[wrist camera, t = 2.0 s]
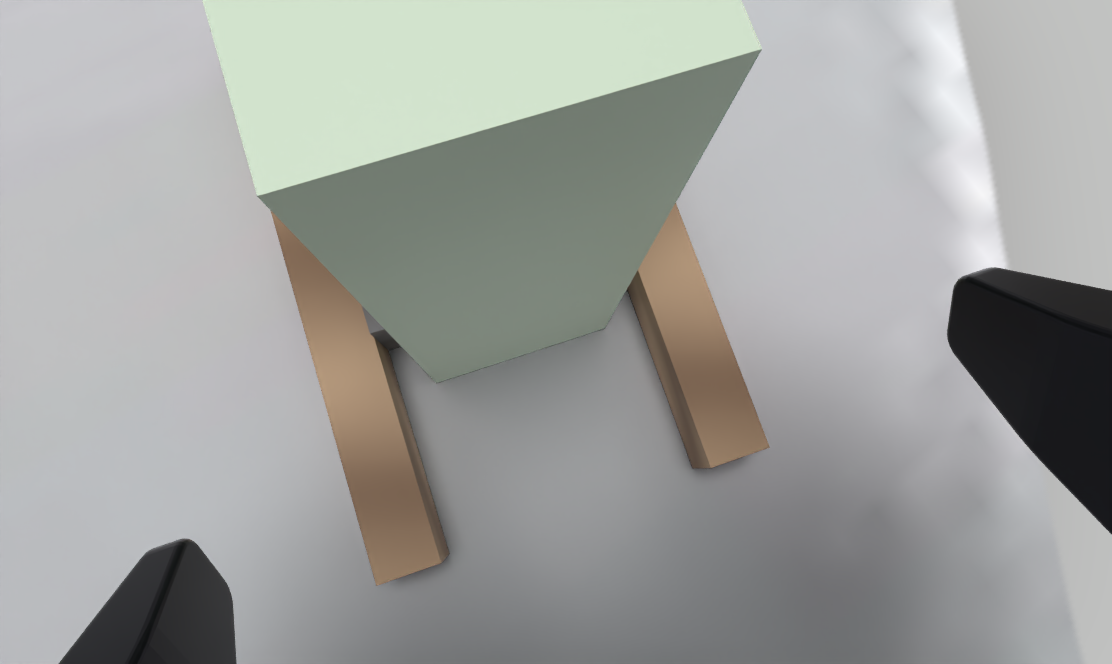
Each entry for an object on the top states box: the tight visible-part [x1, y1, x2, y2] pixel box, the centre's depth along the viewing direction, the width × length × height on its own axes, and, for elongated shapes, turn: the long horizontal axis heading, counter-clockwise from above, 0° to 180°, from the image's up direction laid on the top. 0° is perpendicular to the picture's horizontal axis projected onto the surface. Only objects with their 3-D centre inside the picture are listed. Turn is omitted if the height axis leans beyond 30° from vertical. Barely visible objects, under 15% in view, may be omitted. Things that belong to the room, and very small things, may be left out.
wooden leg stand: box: [271, 203, 769, 586], centre depth 20 cm, size 16×10×2 cm, turn 19°
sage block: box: [203, 0, 762, 383], centre depth 14 cm, size 5×5×14 cm
